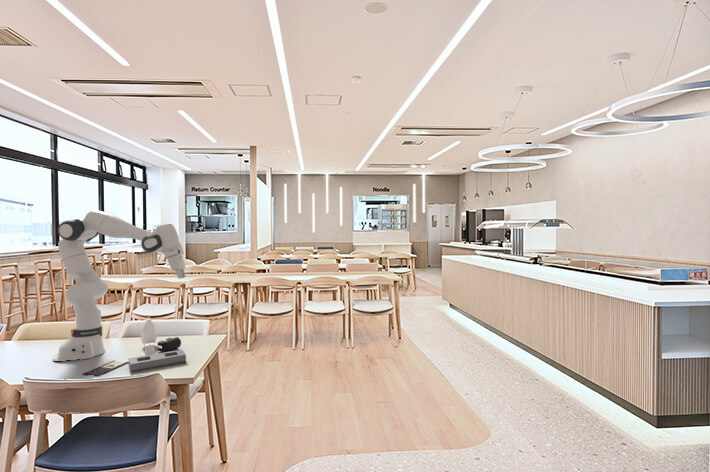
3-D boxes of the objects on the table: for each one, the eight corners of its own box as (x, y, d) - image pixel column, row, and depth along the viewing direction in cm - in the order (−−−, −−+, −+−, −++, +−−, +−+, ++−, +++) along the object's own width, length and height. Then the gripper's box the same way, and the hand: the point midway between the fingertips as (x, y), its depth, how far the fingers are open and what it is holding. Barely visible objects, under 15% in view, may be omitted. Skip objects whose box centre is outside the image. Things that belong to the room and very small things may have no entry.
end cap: (167, 355, 207) (167, 342, 207) (156, 354, 209) (156, 341, 209) (181, 349, 217) (181, 337, 217) (171, 348, 219) (170, 336, 219)
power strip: (130, 372, 182) (130, 364, 182) (128, 366, 190) (128, 358, 190) (186, 362, 195) (185, 354, 195) (182, 357, 204) (182, 349, 203)
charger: (145, 359, 201) (145, 345, 200) (145, 357, 204) (144, 343, 204) (154, 357, 203) (154, 344, 203) (153, 355, 206) (153, 342, 206)
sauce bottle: (138, 347, 220) (137, 315, 219) (148, 343, 227) (147, 312, 227) (149, 348, 218) (149, 316, 218) (160, 344, 226) (159, 313, 225)
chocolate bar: (81, 373, 180) (113, 360, 198) (82, 375, 180) (113, 362, 198) (98, 375, 178) (129, 361, 196) (98, 377, 178) (129, 363, 196)
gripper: (171, 255, 216) (179, 279, 216) (163, 254, 196) (172, 280, 197) (183, 251, 218) (191, 275, 218) (176, 250, 198) (185, 276, 198)
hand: (182, 278), depth 207 cm, fingers open, 8 cm apart
